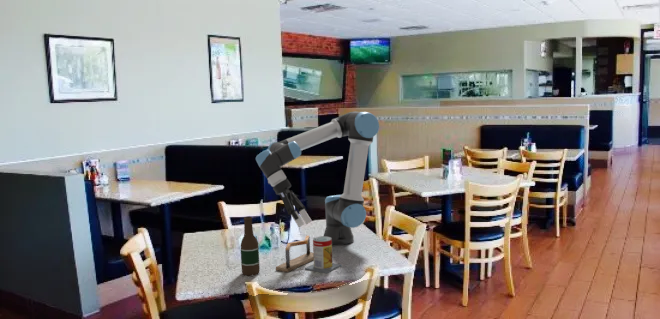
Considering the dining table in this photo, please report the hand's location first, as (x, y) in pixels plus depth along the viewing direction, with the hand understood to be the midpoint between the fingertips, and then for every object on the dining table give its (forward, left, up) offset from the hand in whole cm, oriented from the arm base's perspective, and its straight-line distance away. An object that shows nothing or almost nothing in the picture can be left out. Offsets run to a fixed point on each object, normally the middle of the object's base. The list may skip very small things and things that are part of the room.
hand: (305, 224), depth 246 cm
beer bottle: (+21, -14, -18) cm, 31 cm away
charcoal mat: (+1, +9, -18) cm, 20 cm away
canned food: (+1, +9, -17) cm, 20 cm away
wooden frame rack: (+1, -4, -18) cm, 18 cm away
